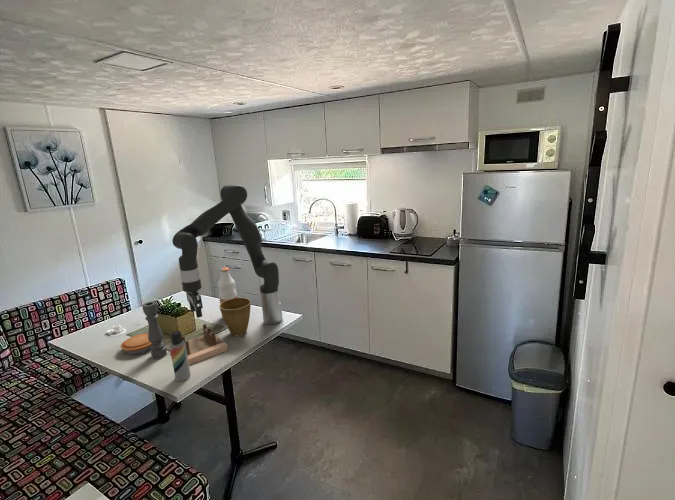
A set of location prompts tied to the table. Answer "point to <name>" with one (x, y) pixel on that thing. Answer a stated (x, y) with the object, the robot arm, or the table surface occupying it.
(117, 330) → the teacup and saucer
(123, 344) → the pie
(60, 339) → the table surface
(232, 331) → the plant pot
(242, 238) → the robot arm
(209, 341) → the rack
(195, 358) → the strip
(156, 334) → the candle holder
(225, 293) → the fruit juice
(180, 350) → the lotion bottle
